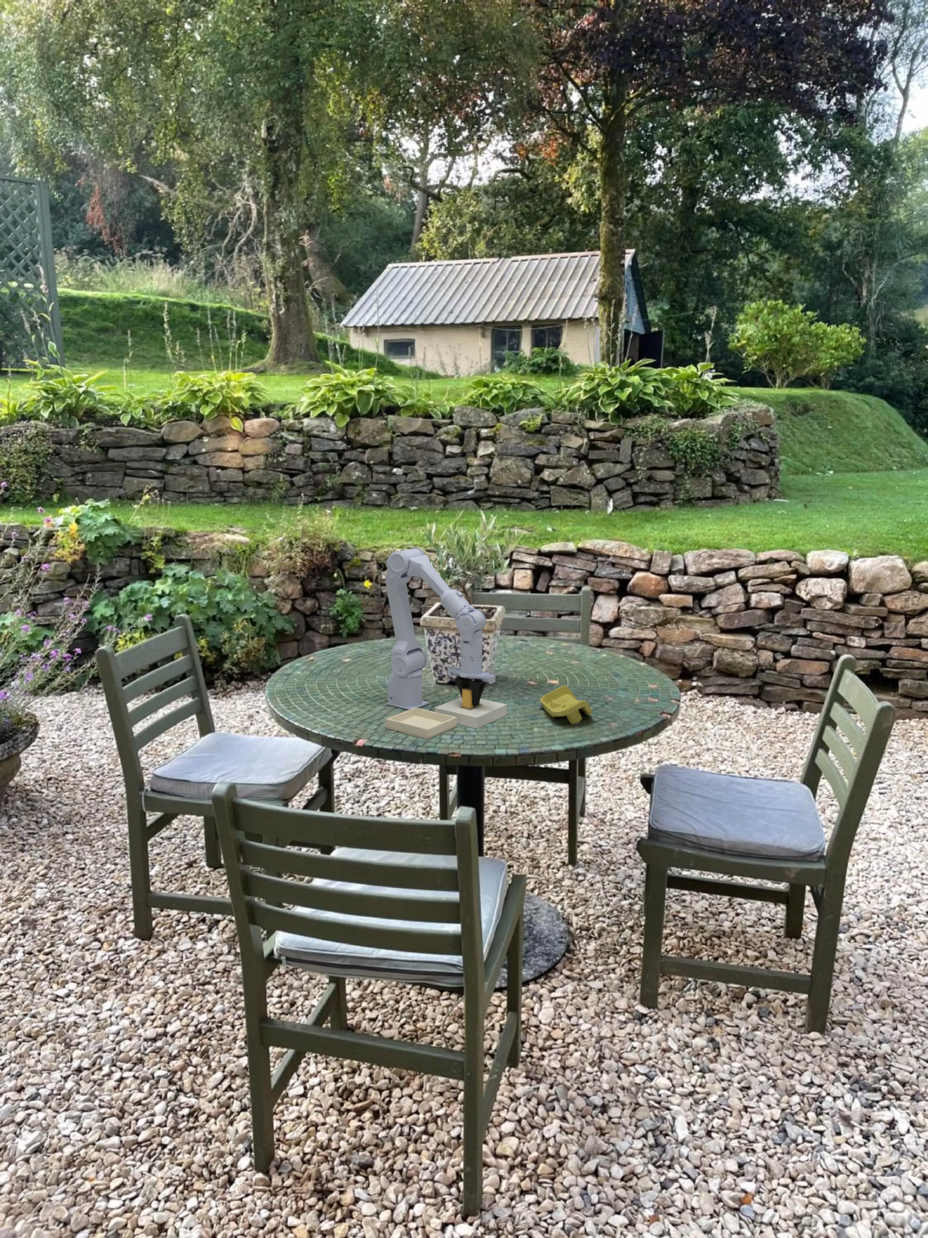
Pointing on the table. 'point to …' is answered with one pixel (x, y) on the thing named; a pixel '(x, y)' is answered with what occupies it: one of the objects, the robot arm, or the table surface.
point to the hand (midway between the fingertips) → (471, 704)
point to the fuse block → (473, 712)
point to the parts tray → (421, 723)
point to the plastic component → (564, 704)
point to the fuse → (467, 699)
